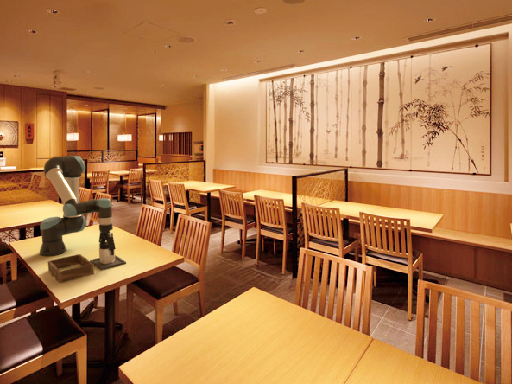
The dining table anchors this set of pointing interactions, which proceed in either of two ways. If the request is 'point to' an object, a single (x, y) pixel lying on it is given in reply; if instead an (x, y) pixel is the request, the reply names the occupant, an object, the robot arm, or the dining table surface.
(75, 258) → the crate
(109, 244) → the robot arm
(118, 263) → the tray
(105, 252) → the jar
